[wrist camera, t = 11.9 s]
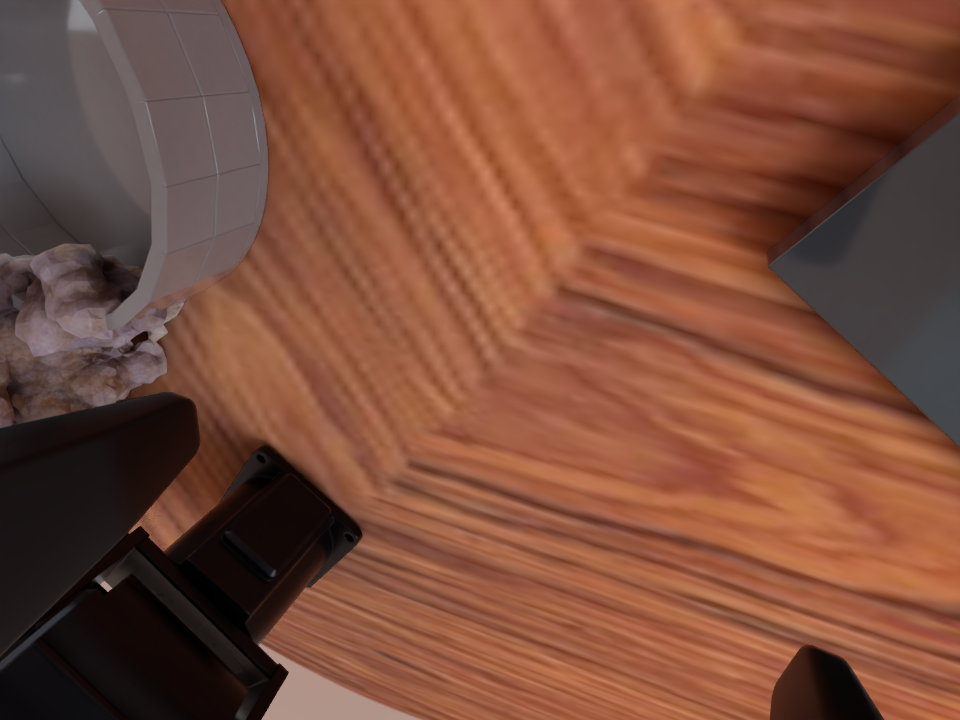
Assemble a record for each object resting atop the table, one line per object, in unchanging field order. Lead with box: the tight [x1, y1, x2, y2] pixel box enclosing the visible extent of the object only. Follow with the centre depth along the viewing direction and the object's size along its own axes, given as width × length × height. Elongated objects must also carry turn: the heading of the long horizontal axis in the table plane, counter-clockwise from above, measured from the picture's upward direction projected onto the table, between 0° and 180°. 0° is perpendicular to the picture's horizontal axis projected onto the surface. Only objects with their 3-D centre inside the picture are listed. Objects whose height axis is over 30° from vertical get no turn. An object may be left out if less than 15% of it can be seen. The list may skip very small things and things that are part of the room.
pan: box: [0, 0, 268, 330], centre depth 20 cm, size 14×14×4 cm
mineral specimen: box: [0, 243, 187, 428], centre depth 26 cm, size 20×10×10 cm
